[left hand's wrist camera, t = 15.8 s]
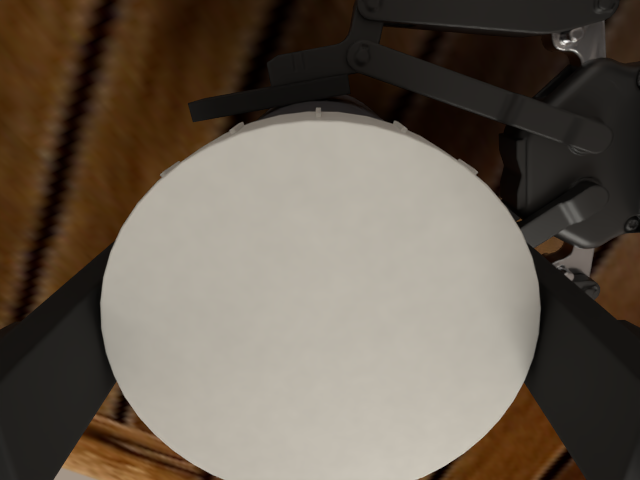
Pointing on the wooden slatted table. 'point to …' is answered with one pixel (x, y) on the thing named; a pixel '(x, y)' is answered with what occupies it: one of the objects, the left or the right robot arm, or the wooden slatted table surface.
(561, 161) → the right robot arm
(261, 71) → the wooden slatted table surface
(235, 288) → the lid
